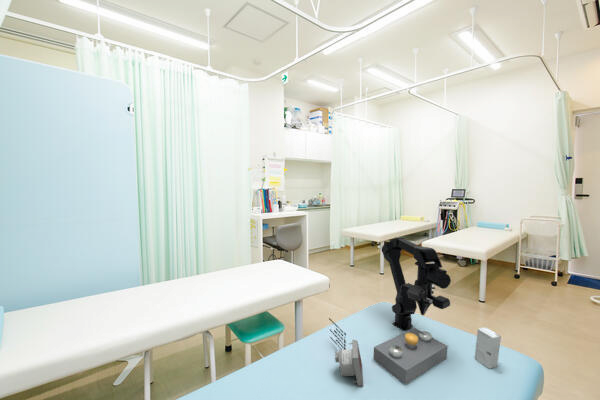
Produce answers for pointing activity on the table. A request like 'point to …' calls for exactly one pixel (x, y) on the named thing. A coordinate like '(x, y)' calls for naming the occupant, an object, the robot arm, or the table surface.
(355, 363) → the grey ridged piece
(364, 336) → the table surface
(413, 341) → the middle button
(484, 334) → the skincare box
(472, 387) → the table surface
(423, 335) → the far button
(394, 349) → the near button
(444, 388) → the table surface
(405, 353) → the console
